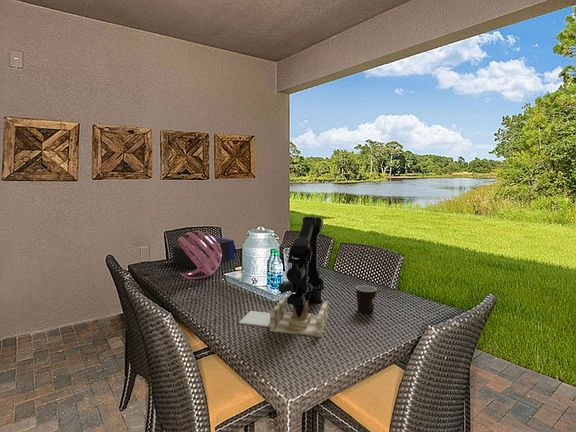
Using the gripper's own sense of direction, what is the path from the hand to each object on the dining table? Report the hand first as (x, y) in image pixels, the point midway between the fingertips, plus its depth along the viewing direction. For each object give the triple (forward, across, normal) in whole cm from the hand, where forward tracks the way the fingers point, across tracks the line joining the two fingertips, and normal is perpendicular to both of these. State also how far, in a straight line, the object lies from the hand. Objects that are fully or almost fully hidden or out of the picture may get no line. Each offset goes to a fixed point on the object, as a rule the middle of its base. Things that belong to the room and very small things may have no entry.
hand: (300, 314), depth 135 cm
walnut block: (+1, 0, 0) cm, 1 cm away
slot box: (+4, 0, 0) cm, 4 cm away
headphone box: (+4, -82, -86) cm, 119 cm away
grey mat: (+4, 0, -17) cm, 18 cm away
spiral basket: (+4, -49, -71) cm, 86 cm away
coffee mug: (+4, -21, +25) cm, 33 cm away
